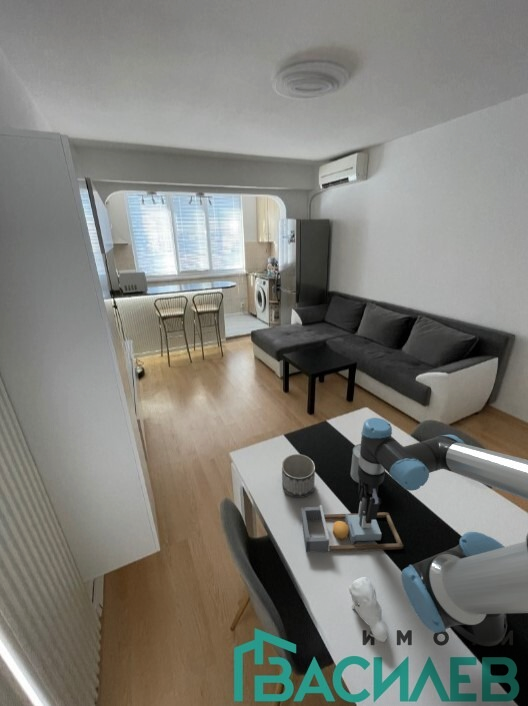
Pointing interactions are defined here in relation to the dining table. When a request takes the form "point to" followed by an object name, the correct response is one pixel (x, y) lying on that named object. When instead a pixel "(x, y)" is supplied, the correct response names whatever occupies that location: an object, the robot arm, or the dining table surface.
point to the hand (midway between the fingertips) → (364, 521)
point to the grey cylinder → (355, 463)
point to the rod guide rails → (367, 546)
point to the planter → (298, 475)
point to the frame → (310, 543)
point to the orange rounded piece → (340, 530)
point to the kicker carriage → (356, 527)
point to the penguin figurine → (368, 607)
